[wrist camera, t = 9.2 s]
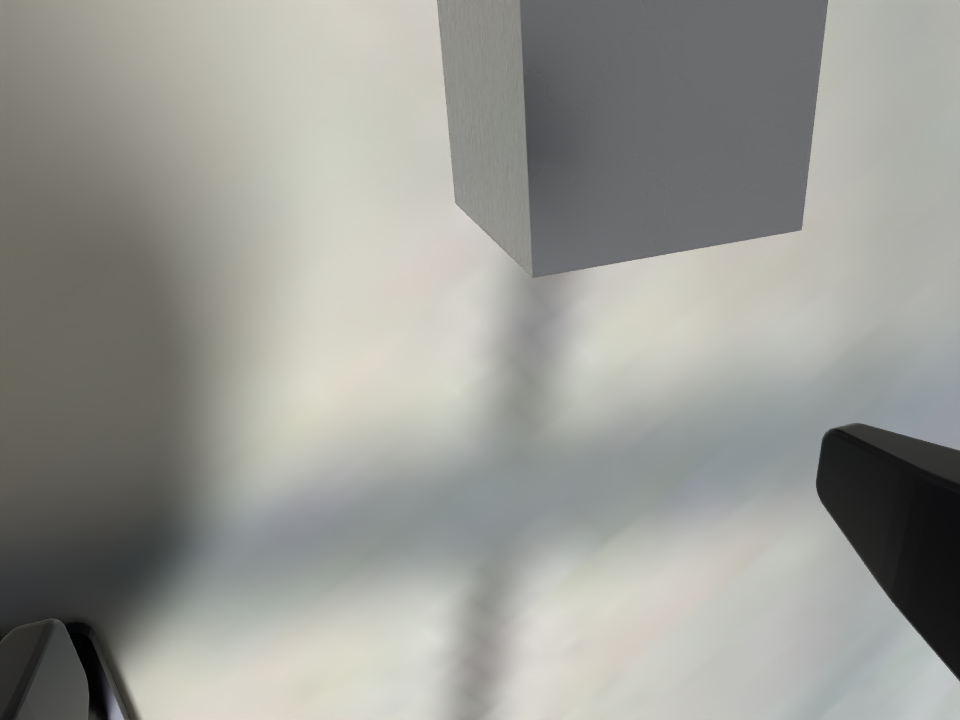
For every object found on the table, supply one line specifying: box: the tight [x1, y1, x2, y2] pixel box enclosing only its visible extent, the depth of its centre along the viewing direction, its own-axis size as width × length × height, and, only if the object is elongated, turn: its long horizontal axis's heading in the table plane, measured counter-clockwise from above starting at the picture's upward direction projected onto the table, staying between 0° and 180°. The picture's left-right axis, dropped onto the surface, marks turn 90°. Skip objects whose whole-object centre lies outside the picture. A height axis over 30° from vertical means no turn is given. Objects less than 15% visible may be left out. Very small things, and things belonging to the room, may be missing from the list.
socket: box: [437, 0, 828, 278], centre depth 17 cm, size 7×6×6 cm
